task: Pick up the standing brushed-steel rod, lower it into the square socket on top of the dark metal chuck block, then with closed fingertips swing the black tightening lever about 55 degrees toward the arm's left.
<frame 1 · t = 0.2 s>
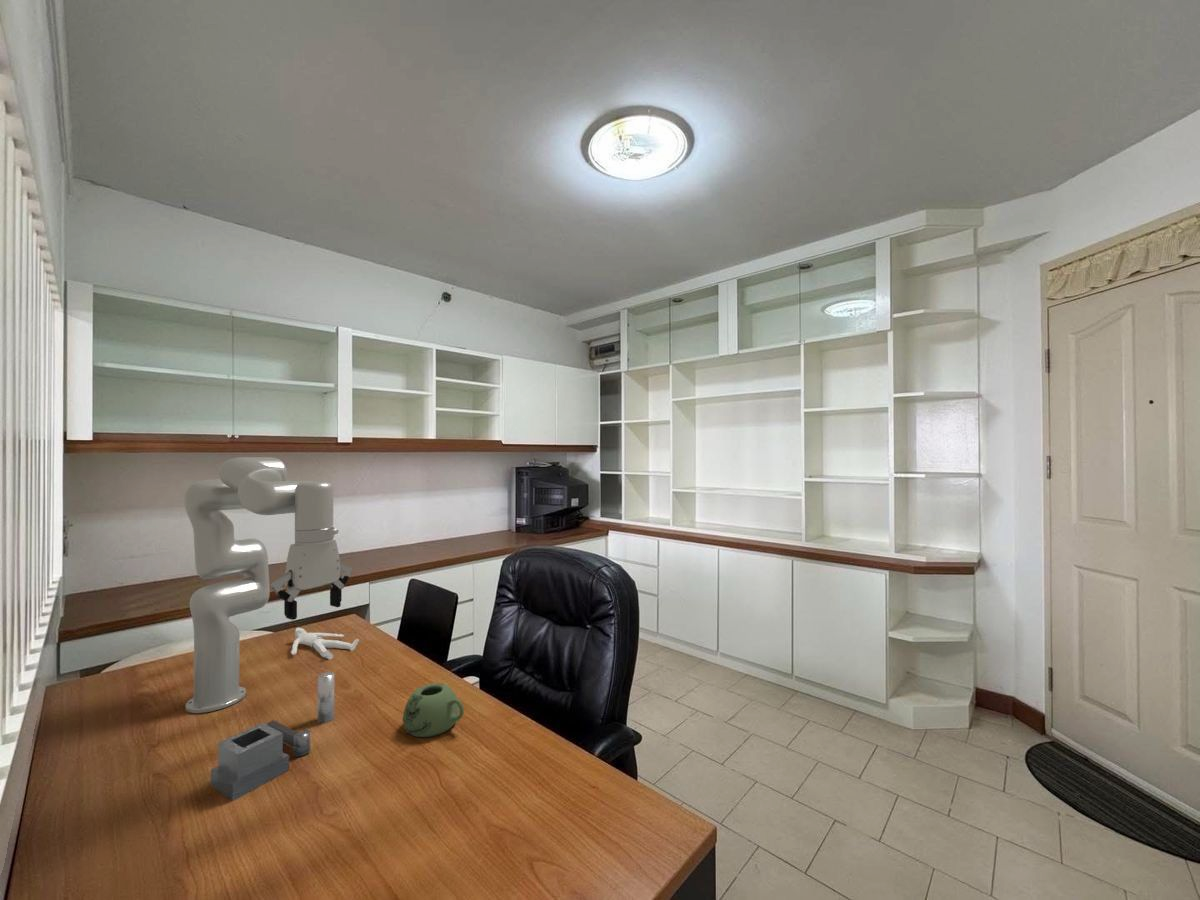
hand: (314, 612, 105), 30 cm above the table, fingers open, 9 cm apart
figurine: (318, 649, 161), on the table
mug: (436, 727, 113), on the table
lever: (285, 734, 106), point 2 cm above the table, hinge at 0.0°
chuck block: (250, 777, 95), on the table
rod: (325, 719, 116), on the table
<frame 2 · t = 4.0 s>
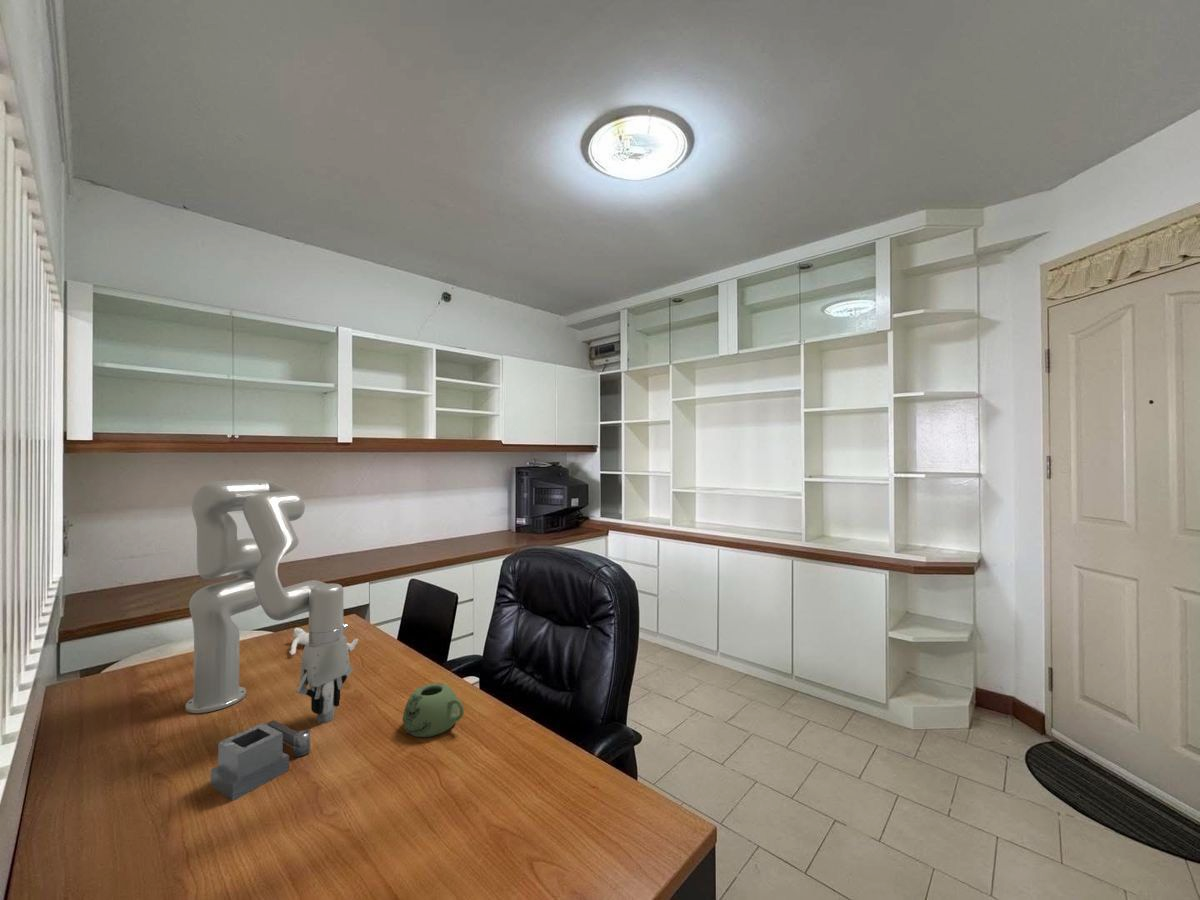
hand: (325, 708, 117), 3 cm above the table, fingers closed on rod, 3 cm apart
rod: (325, 719, 116), on the table, touching gripper
everything else where it was.
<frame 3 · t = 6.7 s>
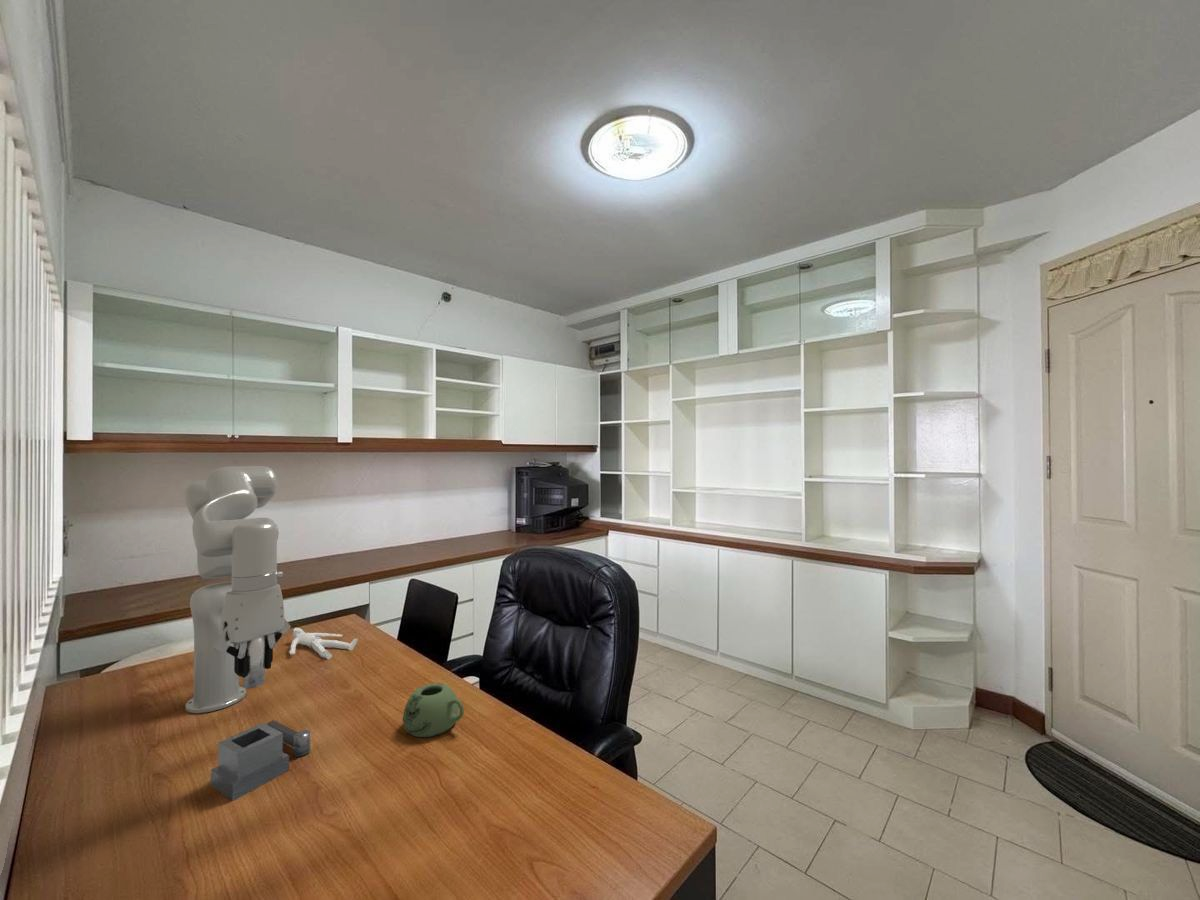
hand: (253, 670, 96), 21 cm above the table, fingers closed on rod, 3 cm apart
rod: (254, 684, 96), point 19 cm above the table, touching gripper
everything else where it was.
when the fingers open (9 cm above the table, at t = 9.8 s): rod drops 3 cm, point 3 cm above the table.
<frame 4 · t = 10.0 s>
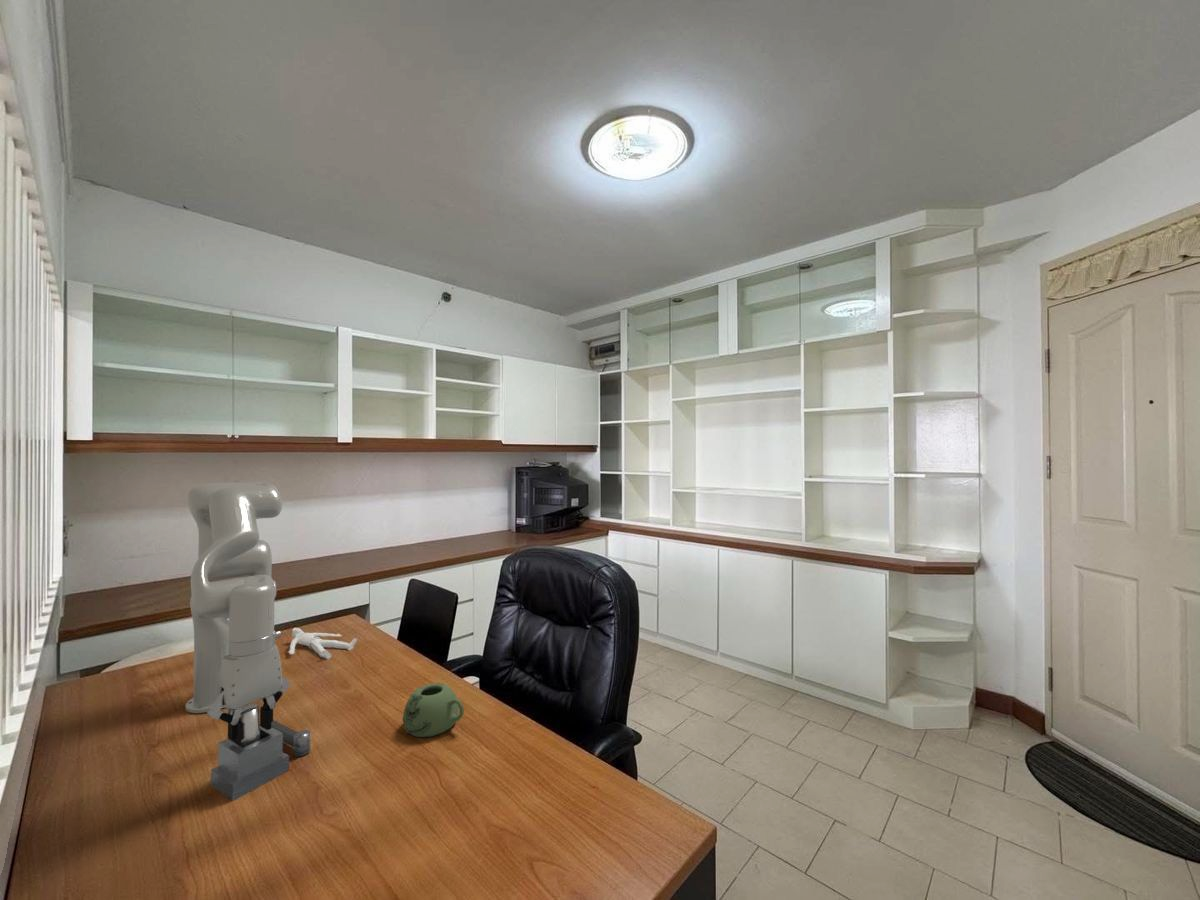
hand: (251, 733, 95), 9 cm above the table, fingers open, 4 cm apart
rod: (250, 762, 95), point 3 cm above the table, touching gripper
everything else where it was.
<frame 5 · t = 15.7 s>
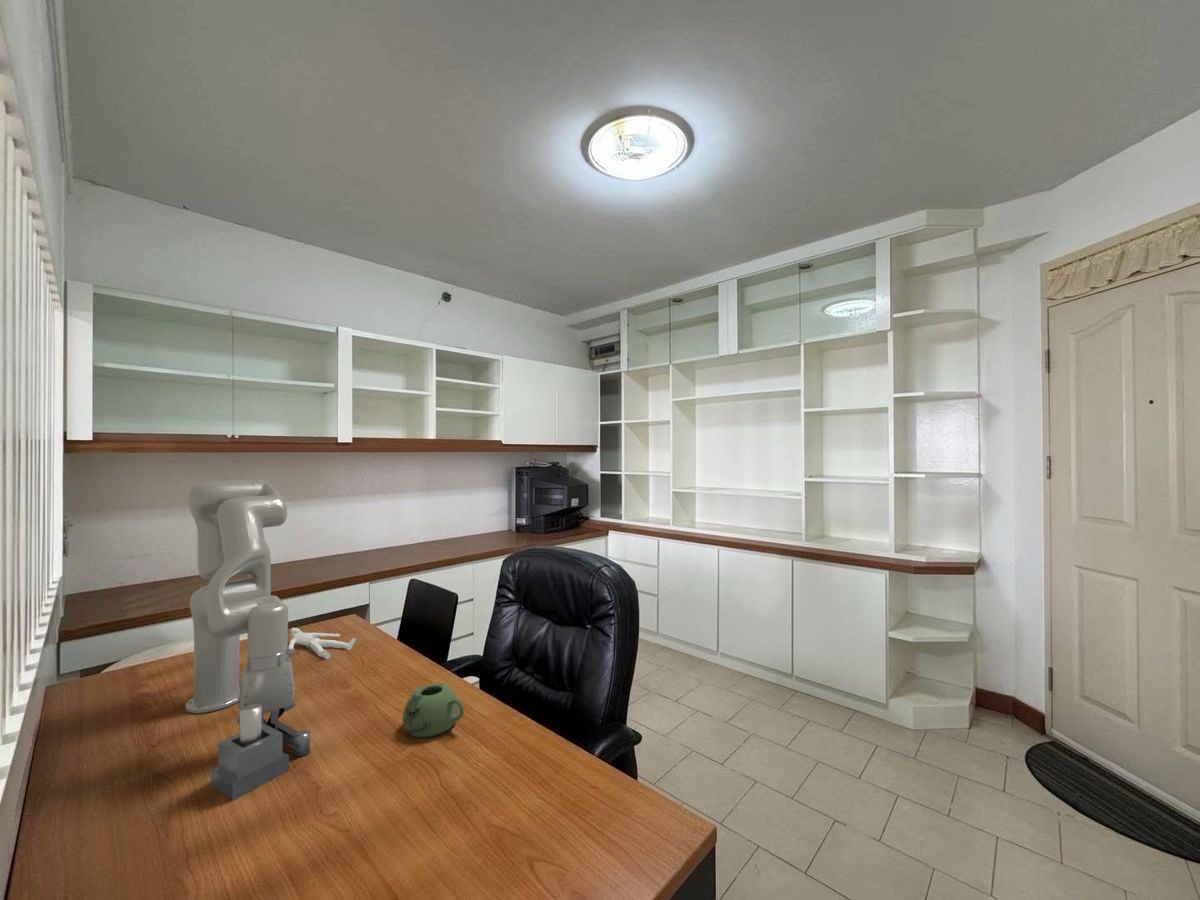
hand: (266, 740, 106), 1 cm above the table, fingers closed
lever: (287, 734, 106), point 2 cm above the table, hinge at 2.0°, touching gripper
rod: (250, 762, 95), point 3 cm above the table, touching chuck block
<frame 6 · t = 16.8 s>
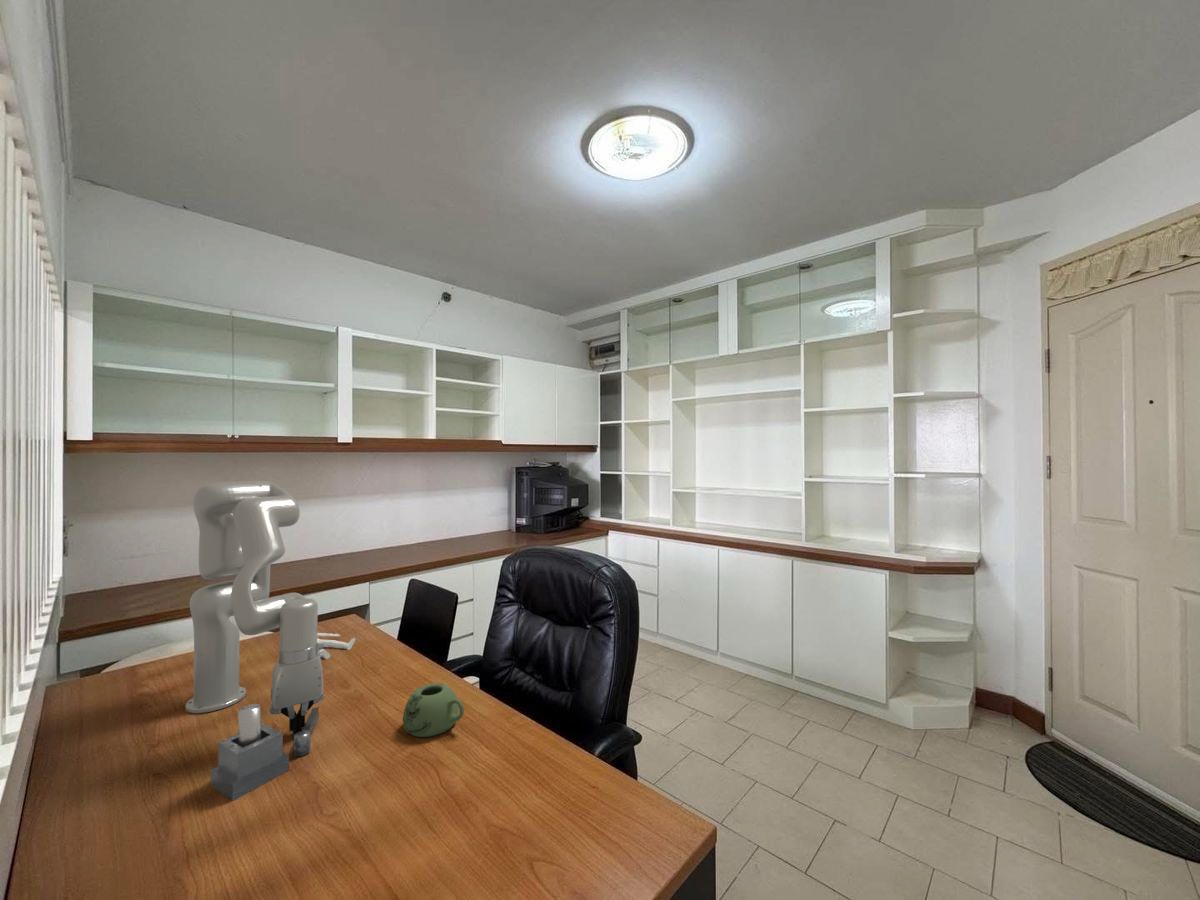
hand: (297, 731, 110), 1 cm above the table, fingers closed
lever: (309, 727, 109), point 2 cm above the table, hinge at 40.5°, touching gripper
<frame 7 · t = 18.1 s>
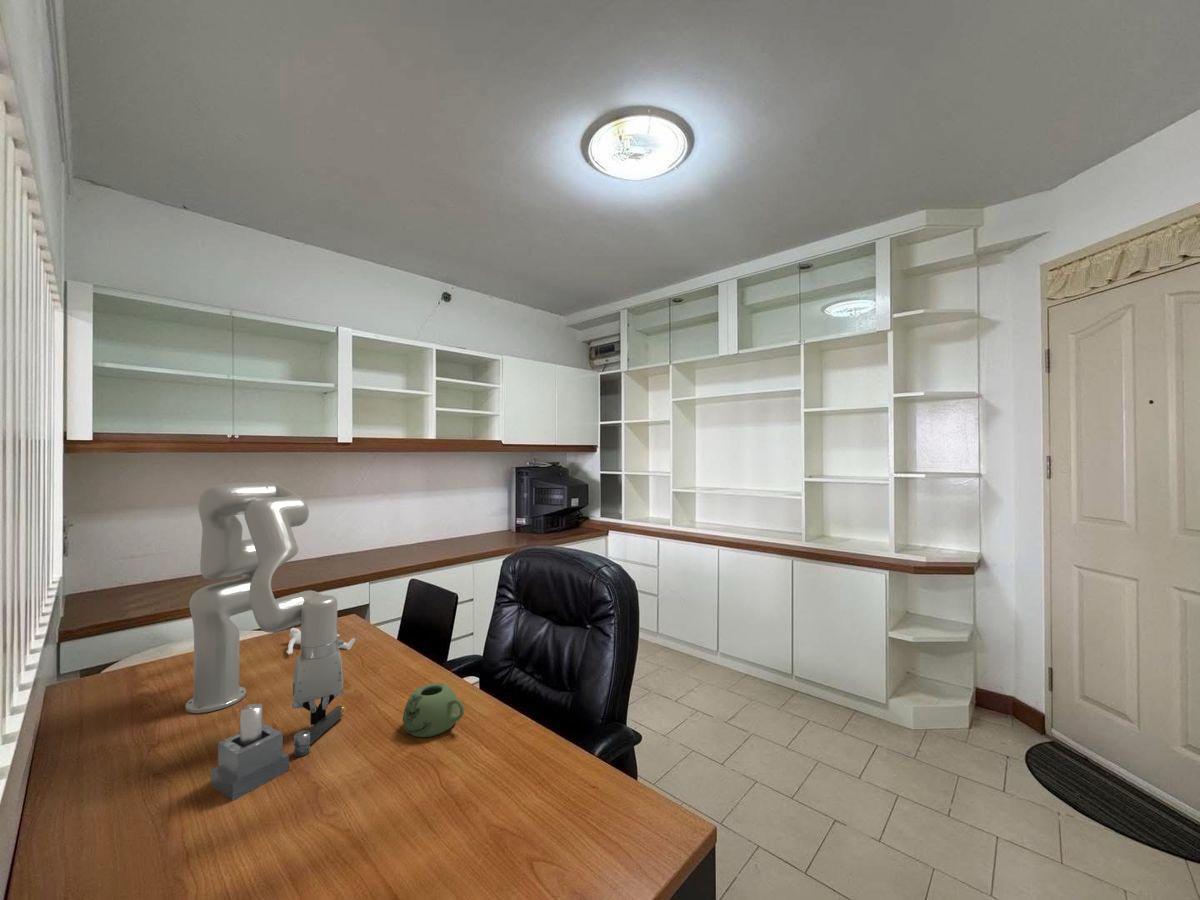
hand: (317, 725, 112), 1 cm above the table, fingers closed
lever: (322, 726, 110), point 2 cm above the table, hinge at 64.9°, touching gripper
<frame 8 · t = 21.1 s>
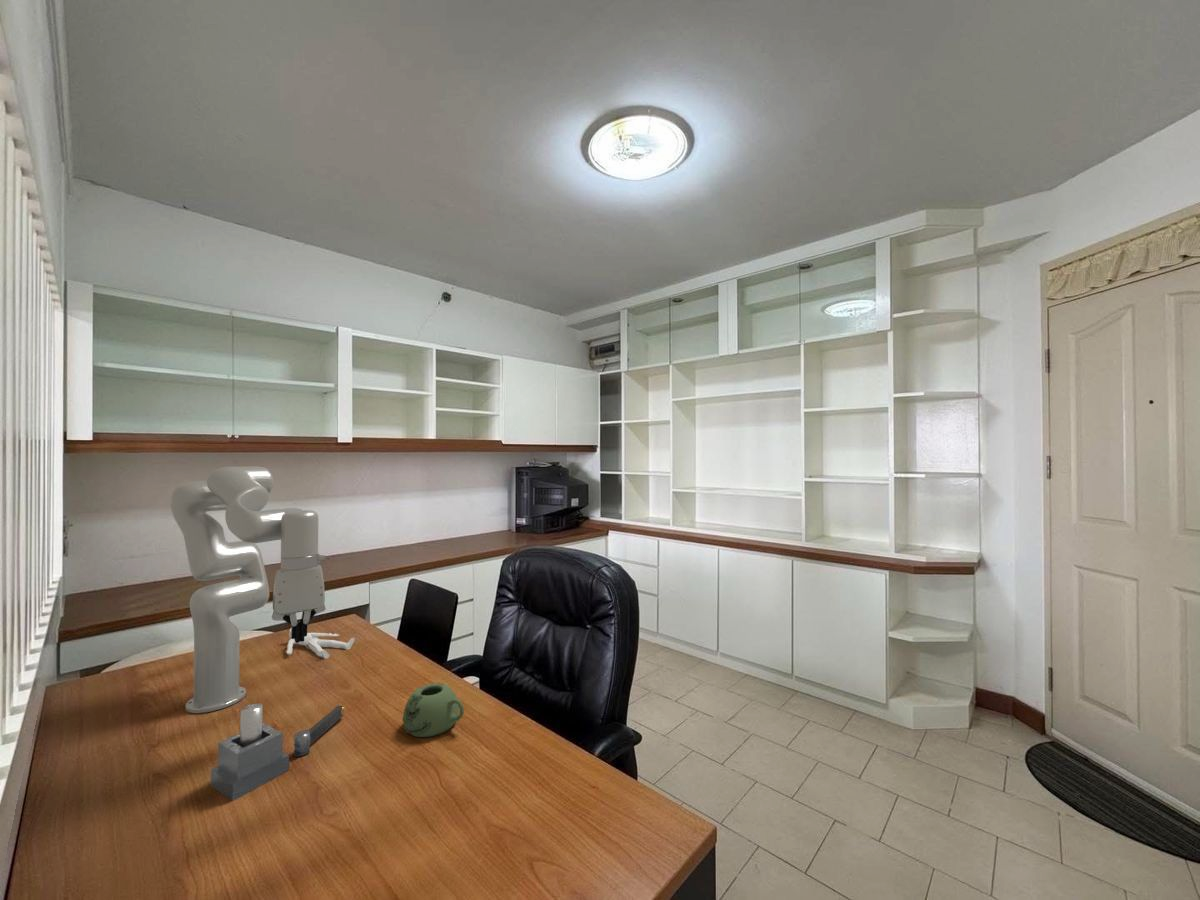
hand: (299, 640, 110), 22 cm above the table, fingers closed
lever: (322, 726, 110), point 2 cm above the table, hinge at 65.2°
at the end: rod 0.1 cm off-centre on the chuck block, point 3.0 cm above the chuck block's base; rod tilted 1°; lever at +65° (first picture: +0°) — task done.
